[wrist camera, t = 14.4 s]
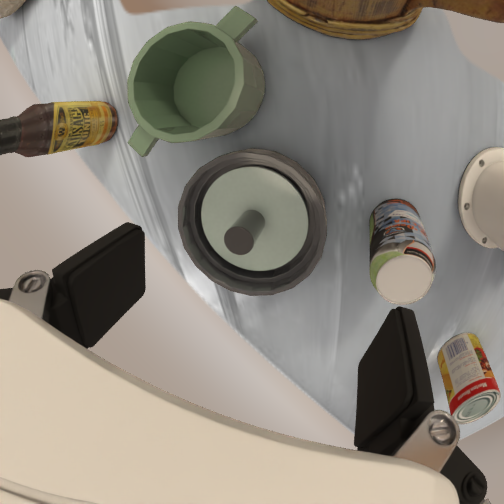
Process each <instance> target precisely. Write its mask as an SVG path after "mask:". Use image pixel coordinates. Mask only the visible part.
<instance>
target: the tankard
mask: <svg viewBox="0 0 504 504" xmlns="http://www.w3.org/2000/svg"><path fill="white" fill-rule="evenodd" d="M267 1H268V2H269V3H270V4H271V5H272V6H273V7H274V8H276V9H277V10H278V11H280V12H281V13H283V14H284V15H285V16H287V17H288V18H290V19H292V20H294V21H295V22H297V23H300V24H302V25H304V26H306V27H308V28H310V29H313V30H316V31H318V32H320V33H323V34H326V35H330V36H334V37H340V38H346V39H371V38H376V37H381V36H385V35H388V34H391V33H394V32H399V31H402V30H404V29H406V28H408V27H410V26H411V25H412V24H413V23H414V22H415V21H416V20H417V18H418V17H419V15H420V13H421V10H422V9H423V7H433V8H439V9H444V10H450V11H454V12H457V13H461V14H464V15H468V16H471V17H475V18H479V19H484V20H488V21H492V22H497V23H504V0H267Z"/></svg>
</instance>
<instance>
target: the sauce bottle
mask: <svg viewBox="0 0 504 504" xmlns="http://www.w3.org/2000/svg"><path fill="white" fill-rule="evenodd" d="M116 127H117V115H116V110H115V109H114V107H112V106H111V105H110V104H109V103H106V102H101V101H74V102H52V103H48V104H34V105H32V106H30V107H29V108H27V109H26V110H25V111H24V112H22V114H20V115H19V116H17V117H10V118H8V119H2V120H0V155H2V154H6V153H12V152H15V153H18V154H21V155H23V156H25V157H33V156H39V155H46V154H52V153H57V152H62V151H67V150H71V149H76V148H82V147H87V146H93V145H98V144H100V143H103V142H106V141H108V140H110V138H111V137H112V136H113V134H114V133H115V131H116Z"/></svg>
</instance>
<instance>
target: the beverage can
mask: <svg viewBox="0 0 504 504" xmlns="http://www.w3.org/2000/svg"><path fill="white" fill-rule="evenodd" d="M435 273H436V263H435V259H434V256H433V253H432V250H431V247H430V244H429V241H428V238H427V235H426V232H425V230H424V227H423V224H422V222H421V219H420V216H419V214H418V212H417V210H416V209H415V207H414V206H413V205H412V204H410V203H409V202H407V201H405V200H401V199H389V200H386V201H384V202H382V203H380V204H379V205H378V206H377V207H376V208H375V209H374V211H373V212H372V214H371V217H370V278H371V282H372V284H373V286H374V287H375V289H376V290H377V291H378V292H379V294H380V295H381V296H382V297H383V298H384V299H385V300H387V301H388V302H391V303H393V304H399V305H405V304H411V303H414V302H416V301H418V300H420V299H421V298H422V297H424V296H425V295H426V293H427V292H428V291H429V289H430V287H431V284H432V282H433V280H434V277H435Z"/></svg>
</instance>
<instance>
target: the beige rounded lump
mask: <svg viewBox="0 0 504 504" xmlns="http://www.w3.org/2000/svg"><path fill="white" fill-rule="evenodd" d="M25 1H26V0H0V18H3V17H7V16H10V15H11V14H13V13H14V12H16V11H17V10H18V9H19V8H20V7H21V6H22V5H23V3H24V2H25Z"/></svg>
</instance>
